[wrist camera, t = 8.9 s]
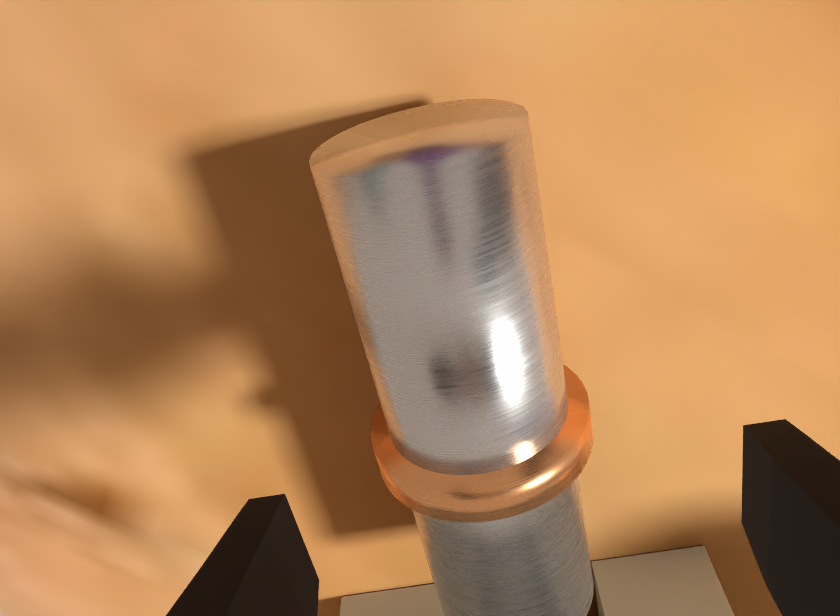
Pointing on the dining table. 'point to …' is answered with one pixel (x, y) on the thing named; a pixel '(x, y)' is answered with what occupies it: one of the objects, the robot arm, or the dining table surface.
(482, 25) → the dining table surface
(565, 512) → the silver copper cylinder
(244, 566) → the robot arm
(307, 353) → the dining table surface
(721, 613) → the block
